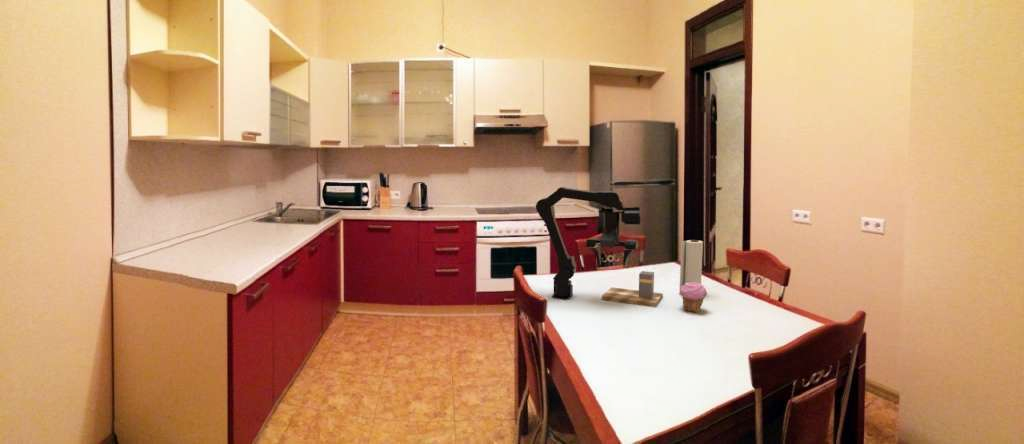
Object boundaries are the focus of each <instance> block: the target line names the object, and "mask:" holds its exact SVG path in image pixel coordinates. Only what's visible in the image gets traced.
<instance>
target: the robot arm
mask: <svg viewBox="0 0 1024 444" xmlns="http://www.w3.org/2000/svg"><path fill="white" fill-rule="evenodd" d="M562 199H570V200H578V201H586V202H593V203H595V204H599V205H601V206H602V207H601V208H600V209H599V211H598V213H599V214H603V229H602V234H601V236H600V237H589V238H587V239H586V240H585V247H586V248H588V249H589V250H591V251H592V252H593V254H594V256H595V258H596V261H597V264H598V266H601V264H602V253H601V248H603V249H604V248H609V249H612V248H614V247H623V248H624V249H623V261H622V265H623V266H622V267H623V268H625V267H626V264H627V261H628V260H629V257H630V254H631V253H632V252H634V251H636V250H637V249H638V248H639V240H638V239H629V238H628V239H626V240H625V241H621V235H620V233H621V232H620V231H621V230H620V229H621V224H620V218H621V223H623V224H624V226H640V225H641V213H640V208H641V207H640V206H638V205H637V206H625V204H623V202H622V201H621V197H620V194H619V193H618V192H617V191H616V190H601V191H592V190H587V189H577V188H570V187H565V186H561V187H558V188H557V189H556V190H555V191H554V192H553V193H552V194H550V195H549V196H547V197H544V198H541V199H539V200H538V201H537V202H536V203H535V210H536V212H537V214H538V215H539V217H540V219H541V220H542V221H543V222H544V224H545V227H546V229H547V233H548V235H549V238H550V242H551V244H552V247H553V250H554V251H555V254H556V257H557V258H556V260H557V268H558V271H557V272H556V273H555V275H554V276H553V294H552V295H551V297H552V298H555V299H556V298H558V299H564V300H568V299H570V298H571V297H572V296H573V295H574V294H573V290H574V289H573V287H574V285H573V284H572V280H571V279H572V278H573V277H574V274H575V273H576V271H577V266H578V264H577V262H576V260H575V256H574V255H572V256H571V255H569V253H568V251H567V248H566V245H565V243H564V239H563V237H562V234H561V232H560V228H559V226H558V222H557V221H556V211H555V210H556V209H555V205H556V204H557V203H558V202H560V201H561V200H562ZM606 207H607V208H606ZM614 209H616V210H614ZM620 215H621V217H620Z"/></svg>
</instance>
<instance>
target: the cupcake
mask: <svg viewBox="0 0 1024 444" xmlns="http://www.w3.org/2000/svg"><path fill="white" fill-rule="evenodd" d="M679 291H680V296H681V297H682V307H683V309H684V310H685V311H689V312H693V313H698V312H699V310H700V309H701V307H702V305H703V302H704V299H705V298H706V297H708V291H707V289H706V287H705V286H704V285H703V284H702V283H701V284H700V283H696V282H689V283H685V284H684V285H683V286H681V288H680V287H679Z"/></svg>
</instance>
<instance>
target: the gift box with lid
mask: <svg viewBox="0 0 1024 444" xmlns="http://www.w3.org/2000/svg"><path fill="white" fill-rule="evenodd" d="M638 275H639V276H638V291H639V297H641V298H649V299H651V298H652V297H653V292H654V290H655V289H654V288H655V287H654V286H655V283H654V282H655V272H654V271H646V270H641V271H640V272H639V274H638Z"/></svg>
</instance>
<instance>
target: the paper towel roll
mask: <svg viewBox="0 0 1024 444" xmlns="http://www.w3.org/2000/svg"><path fill="white" fill-rule="evenodd" d="M680 246H681V247H680V266H679V267H680V269H679V270H680V272H679V289H680V288H681V286H683V285H684V284H685V283H689V282H696V283H700V284H702V273H703V249H704V248H703V247H704V241H702V240H697V239H689V240H683V241H681V245H680ZM678 295H680V290H679V293H678ZM680 296H681V295H680Z"/></svg>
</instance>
